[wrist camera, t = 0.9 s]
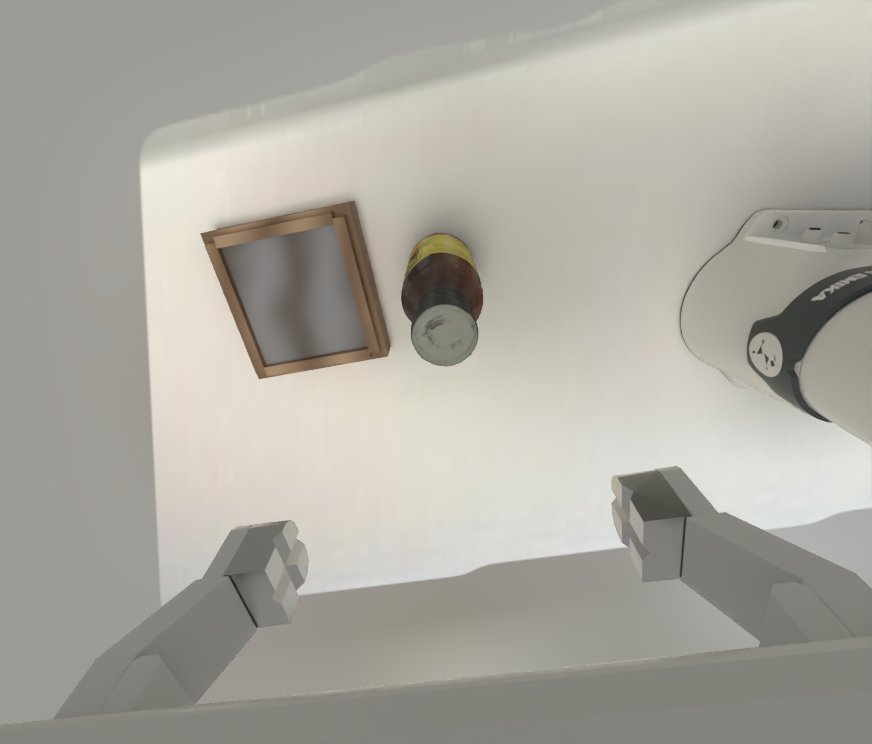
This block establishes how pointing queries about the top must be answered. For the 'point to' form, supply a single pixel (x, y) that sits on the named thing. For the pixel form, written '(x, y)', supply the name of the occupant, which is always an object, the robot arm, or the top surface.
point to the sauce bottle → (442, 300)
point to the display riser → (301, 290)
